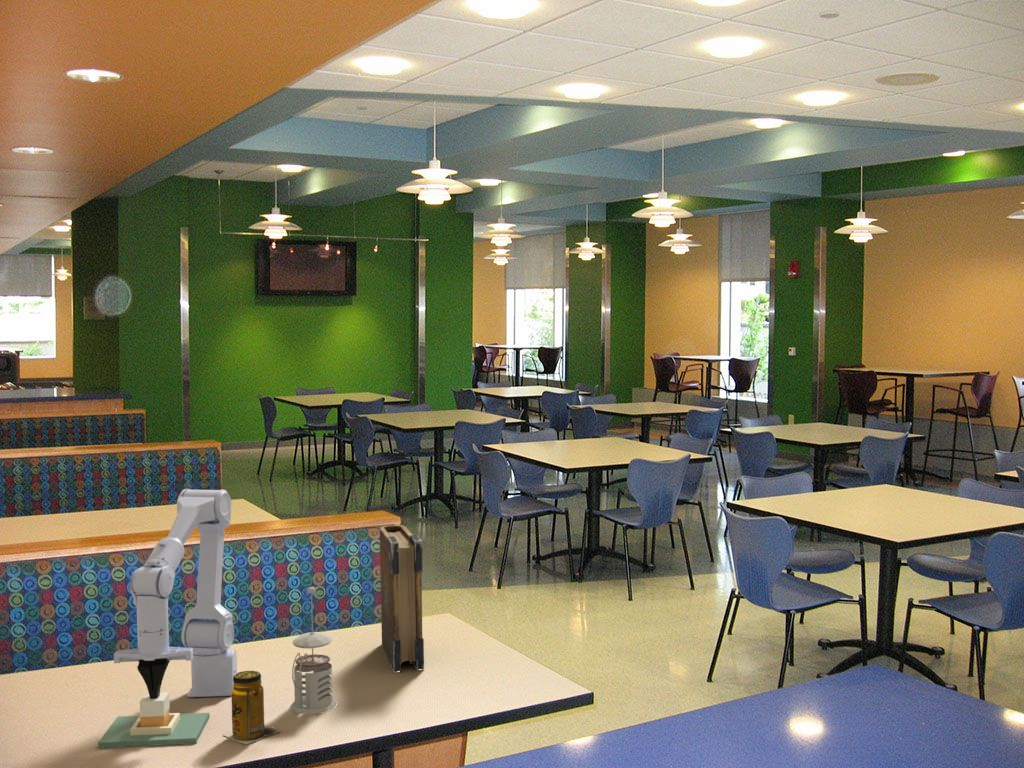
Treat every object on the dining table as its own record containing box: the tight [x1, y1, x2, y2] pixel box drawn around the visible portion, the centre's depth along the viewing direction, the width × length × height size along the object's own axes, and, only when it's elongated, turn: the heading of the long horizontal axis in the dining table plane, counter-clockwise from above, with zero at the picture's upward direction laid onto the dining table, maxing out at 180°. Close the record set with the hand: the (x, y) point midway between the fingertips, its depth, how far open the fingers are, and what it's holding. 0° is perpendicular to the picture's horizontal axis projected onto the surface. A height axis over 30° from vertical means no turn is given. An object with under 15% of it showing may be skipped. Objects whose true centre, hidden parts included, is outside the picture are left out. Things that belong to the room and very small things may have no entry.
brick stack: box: [139, 691, 171, 727], centre depth 201 cm, size 4×4×6 cm
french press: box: [289, 586, 338, 715], centre depth 213 cm, size 10×12×25 cm
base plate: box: [97, 712, 211, 749], centre depth 201 cm, size 18×13×2 cm
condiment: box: [223, 670, 283, 745], centre depth 199 cm, size 7×8×12 cm
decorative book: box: [379, 524, 425, 672], centre depth 245 cm, size 23×7×30 cm, turn 15°
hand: (154, 697), depth 200 cm, fingers closed, pressing on brick stack
